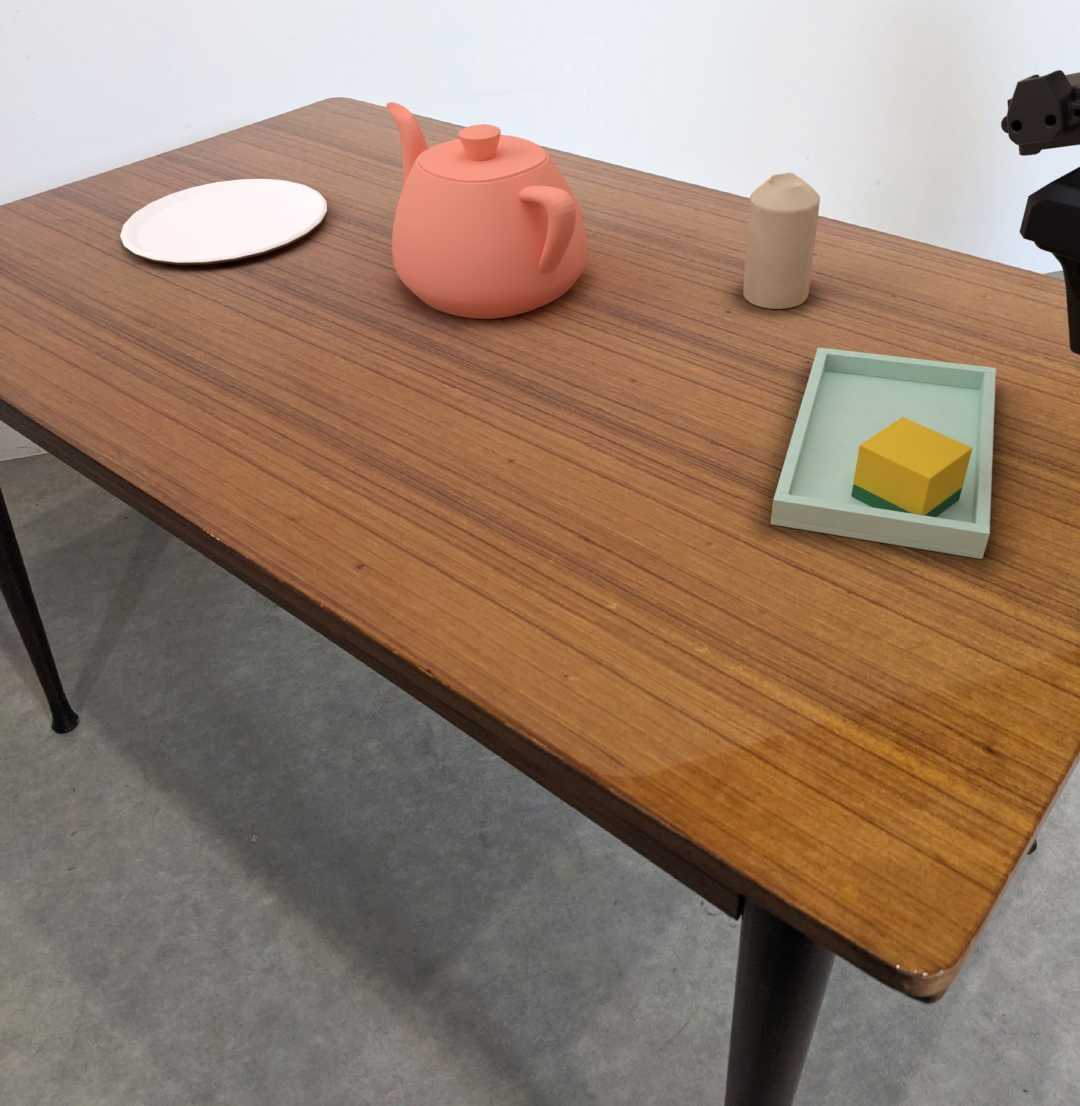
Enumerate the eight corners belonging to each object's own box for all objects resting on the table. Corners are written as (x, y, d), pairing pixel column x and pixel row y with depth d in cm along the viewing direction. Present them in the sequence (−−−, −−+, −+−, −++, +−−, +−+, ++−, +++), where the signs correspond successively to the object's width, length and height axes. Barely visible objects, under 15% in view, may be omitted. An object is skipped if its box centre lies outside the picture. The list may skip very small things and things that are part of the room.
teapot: (336, 264, 99) (309, 118, 91) (478, 213, 107) (465, 74, 98) (496, 359, 84) (481, 194, 75) (649, 291, 92) (651, 135, 83)
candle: (813, 308, 88) (828, 190, 81) (747, 311, 88) (756, 193, 81) (802, 279, 92) (815, 164, 85) (738, 281, 92) (747, 168, 86)
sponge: (959, 500, 66) (973, 447, 64) (918, 531, 64) (930, 478, 62) (892, 467, 69) (902, 416, 67) (850, 496, 67) (859, 444, 65)
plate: (84, 237, 108) (80, 226, 107) (250, 175, 119) (248, 163, 118) (198, 292, 96) (195, 279, 96) (370, 217, 108) (368, 205, 107)
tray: (982, 559, 63) (989, 533, 61) (770, 524, 66) (773, 499, 65) (990, 391, 77) (996, 367, 75) (814, 370, 80) (817, 346, 79)
